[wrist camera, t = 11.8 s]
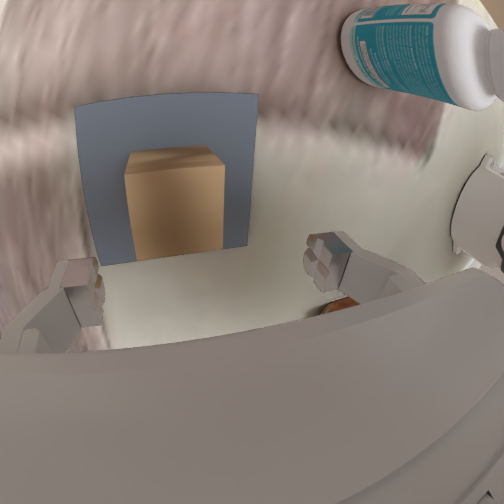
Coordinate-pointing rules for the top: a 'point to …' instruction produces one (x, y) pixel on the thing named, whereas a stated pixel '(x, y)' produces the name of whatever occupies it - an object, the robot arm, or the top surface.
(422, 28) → the pill bottle
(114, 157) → the mat
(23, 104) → the top surface
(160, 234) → the cube
